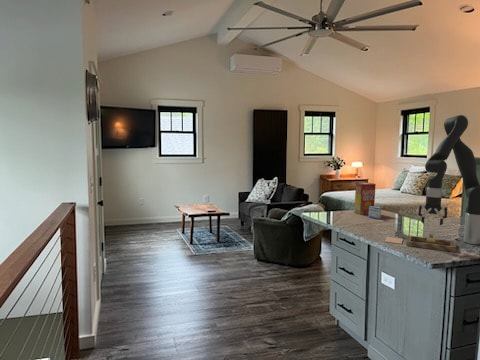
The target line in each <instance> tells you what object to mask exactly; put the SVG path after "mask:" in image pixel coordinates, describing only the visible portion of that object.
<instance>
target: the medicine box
mask: <svg viewBox="0 0 480 360" xmlns="http://www.w3.org/2000/svg"><path fill="white" fill-rule="evenodd" d="M381 214H382V207H380V206H379V207H378V206H374V207H373V206H370V207H369V214H368V218H369V219H374V220H375V219H376V220H380V219H381V217H382V215H381Z"/></svg>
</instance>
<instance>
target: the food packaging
mask: <svg viewBox="0 0 480 360" xmlns="http://www.w3.org/2000/svg"><path fill="white" fill-rule="evenodd" d="M354 195H355V196H354V210H353V211H354V213H355V214H357V215H362V216H363V215H369V207H370V206H373V207H375V198H376V197H375V196H376V183H374V182H373V183H372V182H356V183H355V194H354Z"/></svg>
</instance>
